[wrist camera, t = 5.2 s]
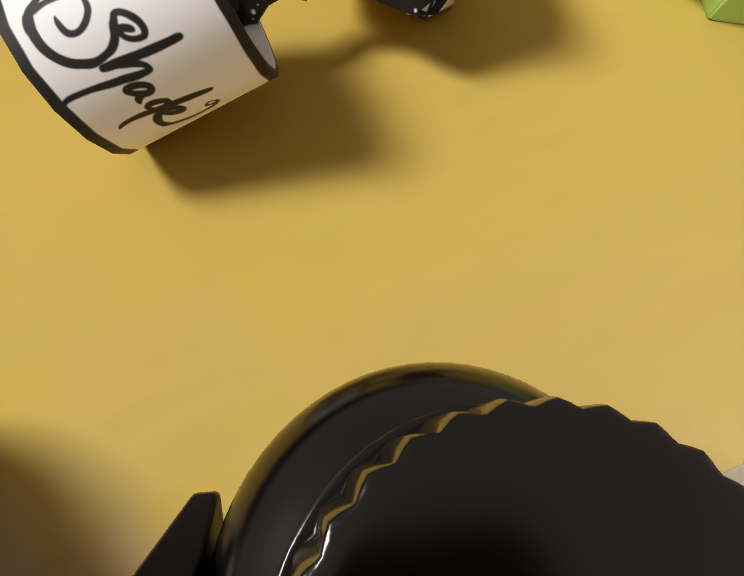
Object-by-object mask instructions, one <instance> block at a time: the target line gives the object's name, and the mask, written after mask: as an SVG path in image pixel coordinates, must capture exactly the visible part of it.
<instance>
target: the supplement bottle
mask: <svg viewBox="0 0 744 576" xmlns="http://www.w3.org/2000/svg"><path fill="white" fill-rule="evenodd" d="M208 576H744V486H743V485H741V484H739V483H738V482H736V481H734V480H732V479H730V478H728V477H726V476H723V475H722V474H721V472H720V471H719V470H718V469H717V468H716V466H715V465H714V463H713V462H712V460H711V459H710V458H709V457H708V456H707V455H706V453H705V452H704V451H702V450H699V449H697V448H694V447H691V446H687V445H682V444H679V443H677V442H676V441H675V440H674V439H673V438H672V437H671V436H670V435H669V434H668V433H667V432H666V431H665V430H664V429H663V428H662V427H660V426H659V425H658V424H657V423H654V422H646V421H637V420H632V421H631V420H630V419H628V418H627V417H625V416H624V415H623V414H621V413H620V412H618V411H617V410H615V409H613V408H612V407H610V406H608V405H604V404H594V405H586V406H579V407H578V406H576V405H574V404H573V403H571V402H569V401H566V400H564V399H561V398H558V397H553V396H549V395H547V394H546V393H544V392H542V391H540V390H538V389H537V388H535V387H533V386H531V385H529V384H527V383H525V382H522V381H520V380H518V379H515V378H513V377H511V376H508V375H505V374H502V373H499V372H496V371H492V370H489V369H485V368H480V367H475V366H470V365H464V364H455V363H434V362H427V363H415V364H406V365H401V366H395V367H390V368H386V369H383V370H379V371H376V372H372V373H369V374H366V375H364V376H361V377H359V378H357V379H354V380H352V381H349V382H347V383H345V384H343V385H342V386H340V387H338V388H336V389H334V390H332V391H330V392H329V393H327V394H326V395H324V396H323V397H321V398H320V399H318V400H317V401H315V402H314V403H312V404H311V405H310V406H308V407H307V408H306V409H305V410H303V411H302V412H301V413H300V414H298V415H297V416H296V417H295V418H294V419H293V420H292V421H291V422H290V423H289V424H288V425H287V426H286V427H284V428H283V429H282V430H281V431H280V432H279V433H278V434H277V436H276V437H275V438H274V439H273V440H272V441H271V443H270V444H269V445H268V446H267V447H266V449H265V450H264V451H263V452H262V454H261V455H260V456H259V458H258V459H257V461H256V462H255V464H254V465H253V466H252V468H251V469H250V471H249V472H248V474H247V476H246V477H245V479H244V481H243V483H242V484H241V486H240V488H239V489H238V491H237V493H236V495H235V497H234V499H233V501H232V503H231V506H230V508H229V510H228V512H227V514H226V516H225V519H224V521H223V524H222V527H221V530H220V533H219V535H218V538H217V541H216V544H215V548H214V551H213V555H212V559H211V563H210V567H209V570H208Z"/></svg>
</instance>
